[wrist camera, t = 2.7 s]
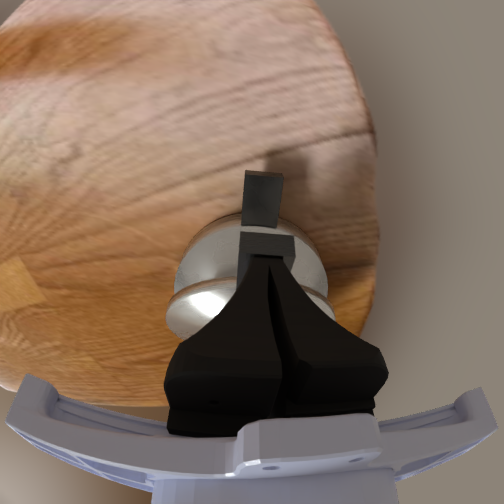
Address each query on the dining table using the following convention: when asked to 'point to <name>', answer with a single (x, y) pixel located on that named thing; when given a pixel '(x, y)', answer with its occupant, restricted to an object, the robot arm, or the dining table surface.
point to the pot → (251, 220)
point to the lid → (232, 285)
